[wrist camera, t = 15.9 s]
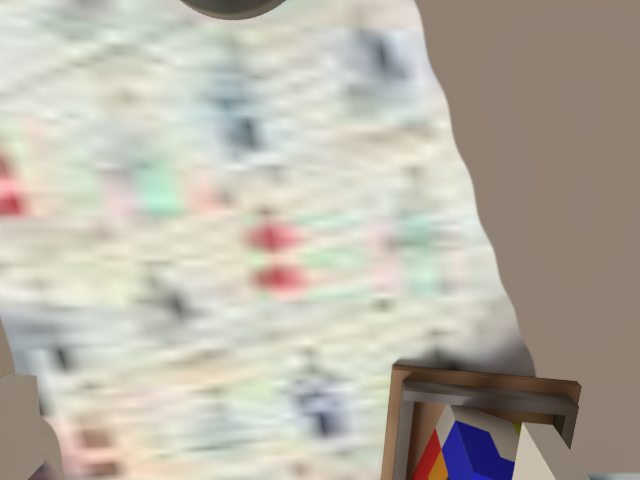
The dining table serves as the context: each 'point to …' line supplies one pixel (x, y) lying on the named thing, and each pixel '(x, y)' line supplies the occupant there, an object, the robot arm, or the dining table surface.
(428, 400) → the pocket board
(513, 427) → the puzzle toy
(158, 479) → the dining table surface
